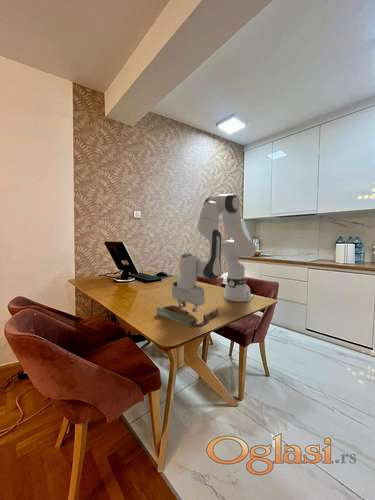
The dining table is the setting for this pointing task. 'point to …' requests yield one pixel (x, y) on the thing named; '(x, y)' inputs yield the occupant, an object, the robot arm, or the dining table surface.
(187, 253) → the robot arm
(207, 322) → the mats
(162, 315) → the trap lane
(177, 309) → the brown oblong lump
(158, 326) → the dining table surface
